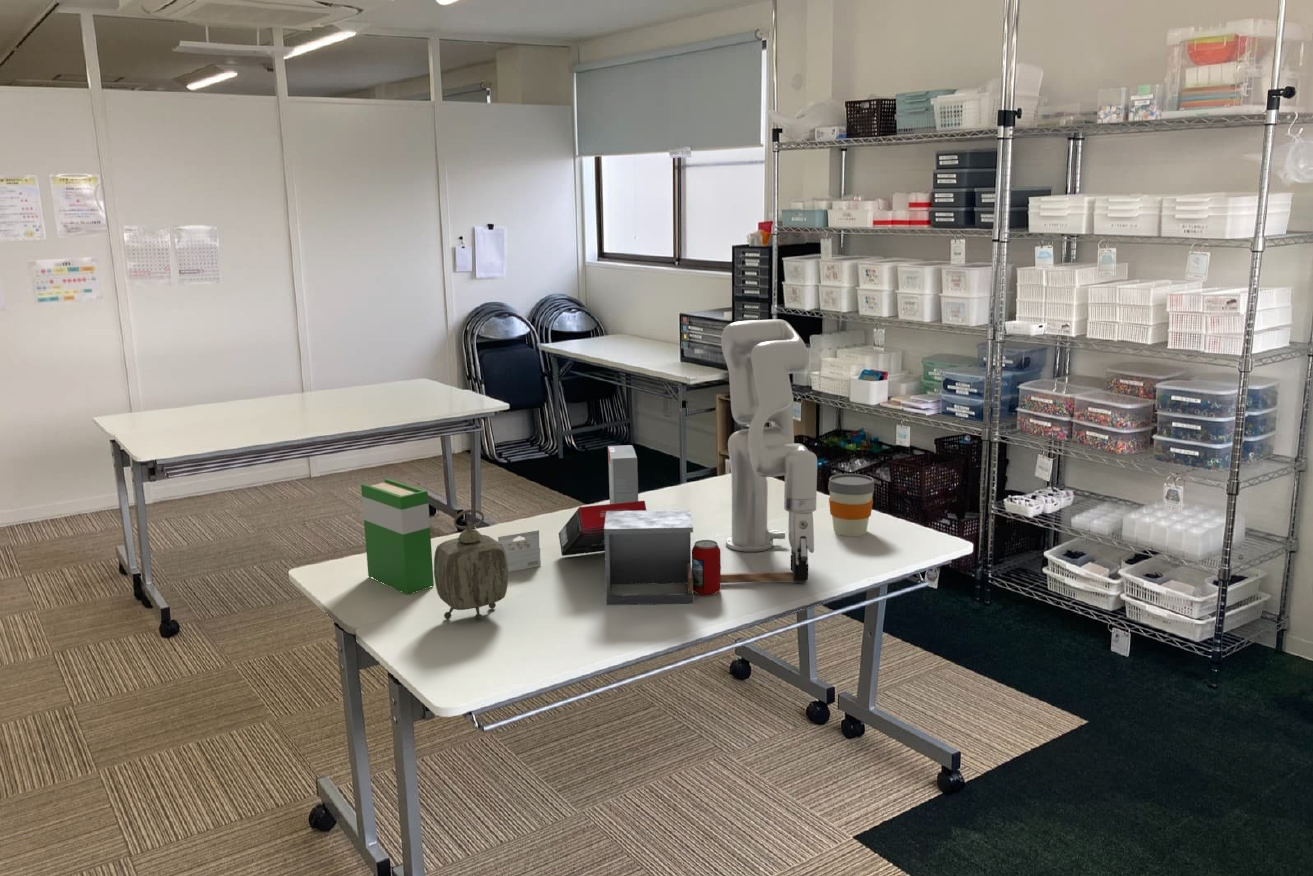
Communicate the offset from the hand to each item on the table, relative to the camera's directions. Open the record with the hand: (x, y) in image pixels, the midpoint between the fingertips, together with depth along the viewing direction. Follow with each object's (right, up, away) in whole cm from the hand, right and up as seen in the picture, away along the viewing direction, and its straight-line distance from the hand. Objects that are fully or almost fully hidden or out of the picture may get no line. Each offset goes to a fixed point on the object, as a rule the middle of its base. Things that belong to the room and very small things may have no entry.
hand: (799, 574), depth 249 cm
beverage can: (-23, -4, -5) cm, 23 cm away
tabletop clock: (-75, -7, -18) cm, 77 cm away
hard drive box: (-44, +9, +56) cm, 71 cm away
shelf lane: (-36, -4, -5) cm, 36 cm away
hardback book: (-97, -3, +5) cm, 97 cm away
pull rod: (-13, -3, -4) cm, 14 cm away
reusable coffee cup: (+19, +7, +39) cm, 44 cm away
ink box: (-69, -1, +13) cm, 70 cm away
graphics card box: (-52, +5, +25) cm, 58 cm away
